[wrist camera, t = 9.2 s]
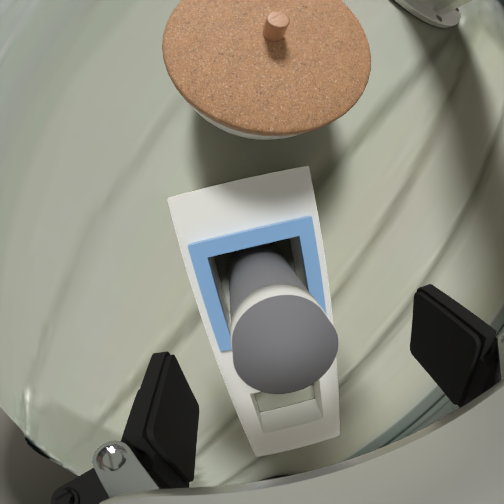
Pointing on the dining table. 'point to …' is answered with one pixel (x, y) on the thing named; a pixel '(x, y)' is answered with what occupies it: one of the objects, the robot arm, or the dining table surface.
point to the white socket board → (213, 300)
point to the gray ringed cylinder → (276, 324)
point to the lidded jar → (267, 63)
